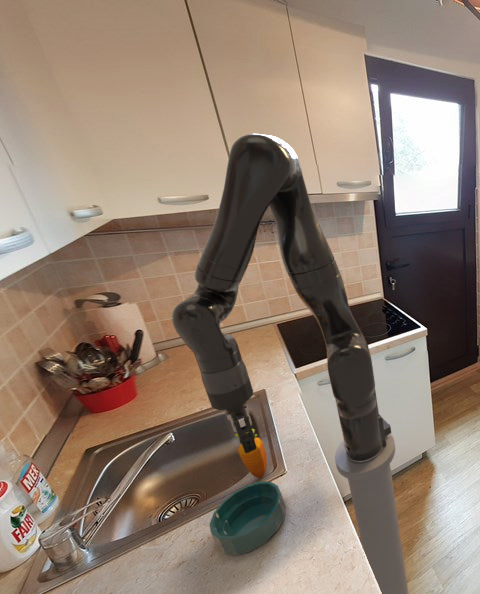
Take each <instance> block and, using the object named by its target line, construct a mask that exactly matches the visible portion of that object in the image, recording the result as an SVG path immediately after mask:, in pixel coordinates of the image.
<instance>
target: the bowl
mask: <svg viewBox="0 0 480 594" xmlns="http://www.w3.org/2000/svg"><path fill="white" fill-rule="evenodd" d="M286 510H287V507H286V504H285V501H284V497H283V495H282V491H281V489H280V487H279V485H278V484H276V483H274V482H272V481H256V482H253V483H250V484H247V485H245V486H243V487H241V488H239V489H237V490H235V491H234V492H233V493H231V494H230V495H229V496H228V497H226V498H225V499H224V500H223V501H222V502H220V504H219V505H218V506H217V508H216V509H215V511H214V512H213V514H212V516H211V519H210V522H209V530H210V533H211V536H212V539H213V540H214V543H215V545H216V547H217V548H218V550H219V551H220V552H221V553H223V554H224V555H226V556H240V555H243V554H246V553H248V552H251V551H254V550H256V549H258V548H259V547H260V546H262V545H263V544H264V543H266V542H267V541H269V540H270V539H271V537H272V536H273V535H275V533H277V531H278V530H279V528H280V527H281V525H282V523H283V521H284V520H285V517H286V512H287V511H286Z"/></svg>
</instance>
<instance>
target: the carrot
mask: <svg viewBox="0 0 480 594" xmlns="http://www.w3.org/2000/svg"><path fill="white" fill-rule="evenodd" d="M252 431H253V433H254V435H255V439H254V441H255V444H256V447H257V448H256V449H255V450H253V451H251V452H249V453H245V451H244V448H243V445H242V444H241V443H240V446H239V447H238V449H237V452H238V455H239V458H240V460H241V461H242V463H243V465H244V467H245V468H246V469H247V471H248V472H249V473H250V474H251V475H252V476H253V477H254V478H257V479H262V478H264V477H265V474H266V471H267V467H268V457H267V455H268V454H267V452H266V451H267V450H266V448H265V444H264V442H263V440H262V439H261V438H260V437H257V436H258V434H256V433H255V432H256V430H255V429H254V428H252ZM247 433H250V432H247ZM234 437H236V438H238V439H239V436H238V433H237V432H235V434H234Z"/></svg>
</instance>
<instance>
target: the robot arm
mask: <svg viewBox="0 0 480 594" xmlns="http://www.w3.org/2000/svg"><path fill="white" fill-rule="evenodd" d="M224 179H225V180H224V186H223V190H222V195H221V198H220V203H219V207H218V210H217V214H216V216H215V220H214V223H213V226H212V228H211V230H210V233H209V235H208V238H207V240H206V242H205V245H204V247H203V250H202V253H201V255H200V258H199V260H198V263H197V266H196V268H195V271H194V279H195V282H196V283H197V287H196V289H195V291H194V292H193V294H191V296H188V297H187V298H186V299H184V300H183V301H181V302H179V303H178V304H177V305H176V306H175V307H174V309H173V310H172V313H171V314H172V315H171V322H172V326H173V328H174V330H175V332H176V333H177V335H178V336H179V337H180V338H181V340H182V341H183V342H184V343H185V345H186V346H187V347H188V349H190V351H191V352H192V353H193V354H194V357H195V360H196V363H197V366H198V368H199V371H200V378H201V381H202V384H203V387H204V389H205V392H206V395H207V398H208V401H209V404H210V406H211V408H213V409H214V410H216V411H224V412H225V415H226V418H227V420H228V421H229V422H230V425H231V428H232V431H233V432H234V433H237V434H238V436H239V438H238V441H239V444H240V445H241V444H242V445H243V448H244V451H245V453H249V452H251V451H253V450H255V449H256V448H257V447H256V444H255V441H254V439H255V432H254V433H253V431H252V429H253V428H252V425H253V421H252V418H251V415H250V408H249V405H248V403H247V402H248V401H249V400H250V399H251V398H253V395H254V389H253V386H252V383H251V379H250V375H249V372H248V369H247V366H246V364H245V362H244V360H243V358H242V354H241V350H240V348H239V345H238V342H237V340H236V338H235V337H234V336H233V335H232V334H231V333H230V334H229V333H226V332H225V333H223V332H222V330H221V326H220V324H222V323H223V322H224V321H226V319H227V318H228V317H229V316H230V314H231V313H232V311H233V309H234V307H235V305H236V301H237V298H238V293H239V287H240V283H241V282H242V280H243V278H244V276H245V273H246V271H247V270H248V267H249V264H250V262H251V259H252V257H253V254H254V250H255V247H256V243H257V236H258V232H259V228H260V225H261V223H262V220H263V217H264V216H265V213H266V212H267V210H268V208H269V209H270V212H271V214H272V216H273V219H274V222H275V226H276V233H277V239H278V245H279V250H280V256H281V259H282V263H283V266H284V269H285V271H286V274H287V275H288V278H289V280H290V283H291V285H292V286H293V288H294V290H295V293H296V294H297V296H298V297H299V299H300V300H301V302H302V303H303V304H304V306H305V307H306V308H307V309H308V310H309V311H310V312H311V314H312V315H313V317H314V318H315V320H316V321H317V323H318V325H319V328H320V330H321V333H322V337H323V339H324V342H325V343H324V344H325V347H326V366H327V372H328V377H329V383H330V386H331V391H332V395H333V397H334V401H335V404H336V410H337V414H338V419H339V424H340V428H341V433H342V438H343V440H344V443H345V445H344V447H345V449H346V455H347V458H348V459H349V460H350V461H351V462H353V463H366V462H369V461H371V460H373V459H375V458H376V457H377V456H378V455H379V454H380V453H381V452H382V450H383V448H384V447H386V438H385V436H387V435H389V434H390V433H391V434H392V427H391V424H390V423H388V422H387V421H386V420H385V419H384V418H383V416H381V414H380V412H379V406H378V400H377V392H376V381H375V374H374V368H373V360H372V355H371V352H370V347H369V344H368V342H367V340H366V337H365V336H364V334H363V332H362V331H361V329H360V327H359V325H358V323H357V321H356V319H355V317H354V315H353V312H352V310H351V308H350V305H349V304H350V303H349V299H348V295H347V292H346V288H345V284H344V281H343V277H342V275H341V272H340V269H339V265H338V264H337V261H336V259H335V256H334V254H333V251H332V250H331V246H330V245H329V242H328V239H327V237H326V235H325V233H324V231H323V228H322V227H321V224H320V223H319V220H318V218H317V215H316V213H315V210H314V208H313V206H312V203H311V200H310V197H309V193H308V190H307V189H308V188H307V186H306V182H305V179H304V174H303V171H302V166H301V163H300V159H299V158H298V155H297V154H296V152H295V150H294V149H293V147H291V146H290V145H289V144H288V143H287V142H285V141H284V140H283V139H281V138H279V137H276V136H273V135H267V134H262V133H261V134H260V133H250V134H245V135H243V136H240V137H239V138H237V139H236V140H235V142H233V144H232V145H231V148H230V152H229V156H228V161H227V167H226V172H225V178H224ZM247 432H250V433H247ZM344 443H343V444H344Z"/></svg>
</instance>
